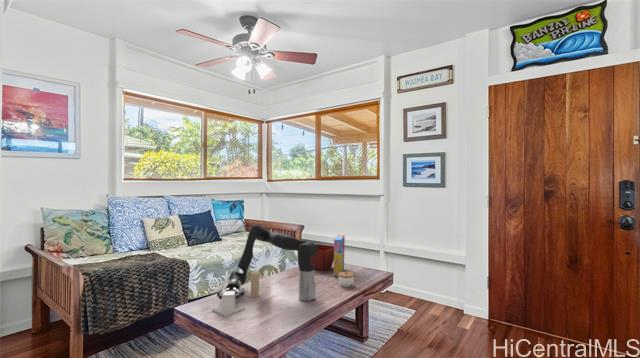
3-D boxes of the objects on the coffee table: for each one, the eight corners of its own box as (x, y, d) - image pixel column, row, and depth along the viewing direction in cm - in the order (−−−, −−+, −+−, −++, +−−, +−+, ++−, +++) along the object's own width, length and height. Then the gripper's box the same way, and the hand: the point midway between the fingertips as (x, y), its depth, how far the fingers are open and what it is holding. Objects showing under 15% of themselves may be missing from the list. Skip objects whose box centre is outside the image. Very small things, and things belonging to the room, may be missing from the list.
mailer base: (259, 293, 191) (259, 271, 191) (258, 296, 186) (258, 273, 186) (251, 293, 190) (251, 271, 190) (250, 296, 185) (251, 273, 185)
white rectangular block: (235, 305, 170) (235, 291, 170) (233, 310, 164) (233, 295, 164) (223, 305, 169) (224, 291, 169) (221, 310, 163) (221, 295, 163)
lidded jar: (353, 288, 203) (354, 274, 203) (337, 287, 204) (337, 273, 204) (354, 283, 213) (354, 269, 213) (338, 282, 214) (338, 268, 215)
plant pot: (304, 268, 245) (304, 247, 245) (316, 263, 261) (317, 243, 261) (324, 273, 235) (325, 251, 235) (336, 267, 251) (337, 246, 251)
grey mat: (244, 309, 167) (244, 307, 167) (225, 316, 158) (225, 315, 158) (231, 303, 175) (231, 301, 175) (212, 310, 165) (212, 308, 165)
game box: (340, 277, 226) (341, 240, 226) (333, 276, 227) (333, 239, 227) (344, 269, 246) (344, 235, 246) (337, 268, 247) (337, 234, 247)
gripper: (221, 280, 181) (215, 290, 165) (246, 280, 183) (242, 290, 167) (221, 293, 181) (214, 304, 165) (245, 293, 183) (242, 304, 167)
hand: (228, 297), depth 166 cm, fingers open, 8 cm apart
